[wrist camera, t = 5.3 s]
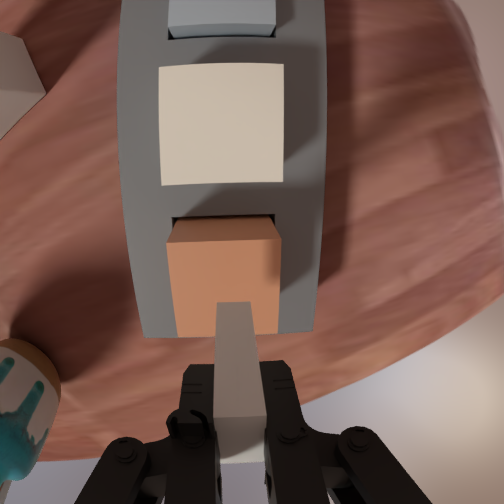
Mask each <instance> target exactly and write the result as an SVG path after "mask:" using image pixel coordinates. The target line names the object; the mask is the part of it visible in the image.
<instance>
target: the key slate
mask: <svg viewBox="0 0 504 504" xmlns="http://www.w3.org/2000/svg"><path fill="white" fill-rule="evenodd" d="M275 25H276V3H275V0H169V12H168V28H169V30H170V32H171V34H172V36H173V37H174V39H175V40H176V39H189V38H207V37H266V38H269V37H270V35H271V33H272V31H273V29H274V27H275Z"/></svg>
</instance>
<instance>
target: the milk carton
mask: <svg viewBox="0 0 504 504" xmlns="http://www.w3.org/2000/svg"><path fill="white" fill-rule="evenodd" d="M45 95H46V91H45V89H44V87H43V85H42V83H41V81H40V78H39V76H38V74H37V72H36V70H35V67H34V65H33V63H32V61H31V58H30V56H29V54H28V51H27V49H26V47H25V44H24V42H23V39H21V38H19V37H16V36H13V35H10V34H7V33H4V32H1V31H0V139H1V138H2V137H3V136H4V135H5V134H6V133H7V132H8V131H9V130H10V129H11V128H12V127H13V126H14V125H15V124H16V123H17V122H18V121H19V120H20V119H21V118H22V117H23V116H24V115H25V114H26V113H27V112H28V111H29V110H30V109H31V108H32V107H33V106H34V105H35V104H36V103H37V102H38V101H39V100H40V99H42V98H43V97H44V96H45Z"/></svg>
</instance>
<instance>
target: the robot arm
mask: <svg viewBox="0 0 504 504" xmlns="http://www.w3.org/2000/svg"><path fill="white" fill-rule="evenodd" d="M166 425H167V428H168V431H169V434H170V435H169V436H168V437H166V438H164V439H162V440H159V441H155V442H150V443H145V444H143V443H142V442H141V441H139V440H137V439H135V438H132V437H122V438H118V439H116V440H114V441H112V442H111V443H110V444H109V445H108V446H107V448H106V450H105V451H104V453H103V455H102V456H101V458H100V460H99V461H98V463H97V465H96V467H95V468H94V470H93V472H92V473H91V475H90V477H89V479H88V480H87V482H86V484H85V486H84V487H83V489H82V491H81V493H80V494H79V496H78V498H77V500H76V501H75V503H74V504H161V503H162V500H163V498H164V496H165V501H164V504H222V477H221V471H220V463H248V462H264V460H265V468H266V470H265V484H266V486H267V494H268V502H269V504H330V502H329V498H328V494H327V492H328V493H329V495H330V497H331V498H332V500H333V502H334V503H335V504H432V503H431V501H430V500H429V499H428V498H427V497H426V495H425V494H424V493H423V492H422V490H421V489H420V488H419V487H418V485H417V484H416V483H415V482H414V480H413V479H412V478H411V477H410V476H409V474H408V473H407V472H406V470H405V469H404V468H403V467H402V466H401V464H400V463H399V462H398V461H397V459H396V458H395V457H394V456H393V454H392V453H391V452H390V451H389V449H388V448H387V447H386V445H385V444H384V443H383V442H382V441H381V439H380V438H379V437H378V435H377V434H376V433H374V432H373V431H372V430H371V429H368V428H366V427H360V426H355V427H350V428H347V429H346V430H344V431H343V432H342V433H341V434H340V435H339V434H329V433H323V432H318V431H316V430H314V429H312V428H311V427H309V426H308V425H307V423H306V422H305V420H304V418H303V415H302V412H301V407H300V403H299V399H298V395H297V391H296V389H295V384H294V381H293V376H292V372H291V368H290V367H289V366H288V365H287V364H286V363H285V362H284V361H283V360H278V361H263V362H259V359H258V352H257V345H256V338H255V331H254V324H253V317H252V310H251V302H250V301H247V302H217V309H216V334H215V363H214V364H190V365H189V367H188V368H187V369H186V371H185V372H184V374H183V381H182V388H181V396H180V403H179V409H177V410H175V411H173V412H172V413H171V414H170V415H169V416H168V418H167V421H166Z"/></svg>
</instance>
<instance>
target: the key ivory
mask: <svg viewBox="0 0 504 504" xmlns="http://www.w3.org/2000/svg"><path fill="white" fill-rule="evenodd" d="M159 143H160V167H161V185H162V186H164V185H182V184H204V183H236V182H283V143H284V64H270V63H208V64H189V65H176V66H165V67H159Z"/></svg>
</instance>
